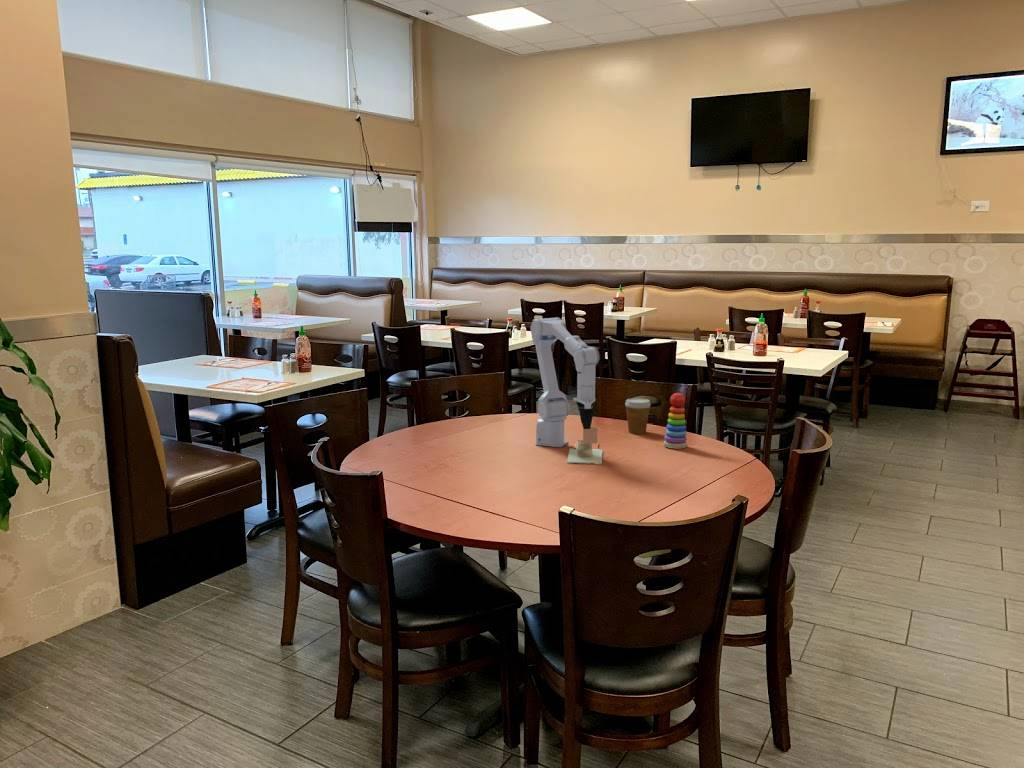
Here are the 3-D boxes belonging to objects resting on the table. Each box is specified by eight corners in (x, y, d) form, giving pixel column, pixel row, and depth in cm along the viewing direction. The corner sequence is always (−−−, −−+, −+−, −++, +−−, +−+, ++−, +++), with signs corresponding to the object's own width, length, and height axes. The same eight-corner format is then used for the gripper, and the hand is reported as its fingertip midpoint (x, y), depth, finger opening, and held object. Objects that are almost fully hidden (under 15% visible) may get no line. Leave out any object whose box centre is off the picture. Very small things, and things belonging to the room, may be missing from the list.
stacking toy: (687, 450, 257) (689, 395, 254) (663, 449, 259) (665, 394, 256) (687, 444, 265) (688, 391, 262) (663, 443, 266) (665, 390, 263)
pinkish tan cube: (583, 443, 246) (583, 430, 245) (583, 440, 251) (583, 426, 250) (597, 444, 246) (597, 430, 245) (597, 440, 250) (597, 427, 249)
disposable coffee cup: (619, 430, 285) (619, 399, 283) (640, 428, 289) (641, 397, 287) (633, 436, 276) (634, 403, 274) (655, 433, 280) (656, 401, 278)
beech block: (578, 457, 247) (578, 443, 246) (577, 453, 251) (577, 440, 251) (592, 457, 247) (592, 443, 246) (591, 453, 251) (591, 440, 251)
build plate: (567, 463, 242) (567, 461, 242) (569, 450, 258) (569, 448, 258) (601, 464, 241) (602, 462, 241) (602, 451, 256) (602, 449, 256)
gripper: (572, 381, 252) (571, 421, 255) (575, 389, 238) (574, 431, 240) (593, 381, 252) (593, 421, 254) (597, 389, 238) (597, 431, 240)
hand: (585, 426), depth 247 cm, fingers open, 7 cm apart
